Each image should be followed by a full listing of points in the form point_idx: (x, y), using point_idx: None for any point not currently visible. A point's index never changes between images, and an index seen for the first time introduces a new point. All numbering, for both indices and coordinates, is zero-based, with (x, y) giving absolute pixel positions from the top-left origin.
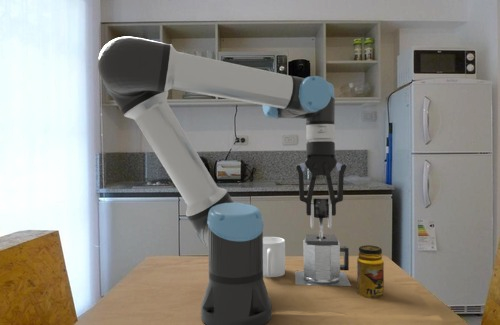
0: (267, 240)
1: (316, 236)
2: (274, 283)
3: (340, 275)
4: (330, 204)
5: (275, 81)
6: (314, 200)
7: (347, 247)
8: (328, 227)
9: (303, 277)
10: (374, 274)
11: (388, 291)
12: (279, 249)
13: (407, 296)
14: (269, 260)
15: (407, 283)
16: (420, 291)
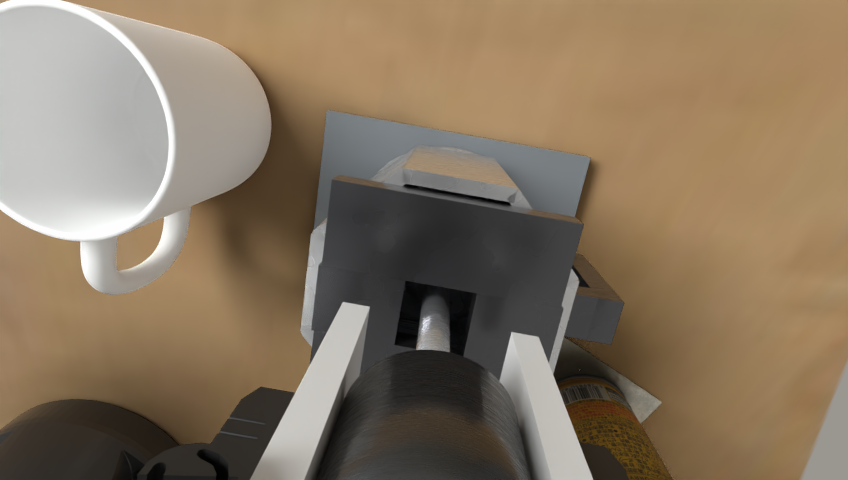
0: (48, 14)
1: (408, 274)
2: (220, 237)
3: (547, 207)
4: None
5: None
6: None
7: (612, 327)
8: (500, 378)
9: None
10: None
11: (679, 375)
12: (164, 214)
13: (722, 426)
14: (129, 292)
15: (825, 301)
16: (811, 389)
